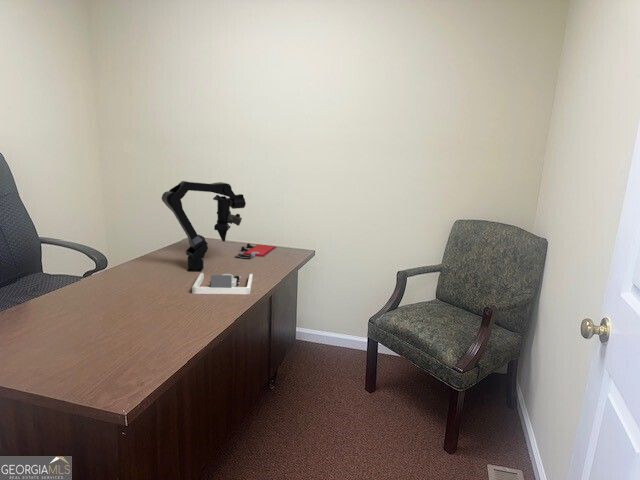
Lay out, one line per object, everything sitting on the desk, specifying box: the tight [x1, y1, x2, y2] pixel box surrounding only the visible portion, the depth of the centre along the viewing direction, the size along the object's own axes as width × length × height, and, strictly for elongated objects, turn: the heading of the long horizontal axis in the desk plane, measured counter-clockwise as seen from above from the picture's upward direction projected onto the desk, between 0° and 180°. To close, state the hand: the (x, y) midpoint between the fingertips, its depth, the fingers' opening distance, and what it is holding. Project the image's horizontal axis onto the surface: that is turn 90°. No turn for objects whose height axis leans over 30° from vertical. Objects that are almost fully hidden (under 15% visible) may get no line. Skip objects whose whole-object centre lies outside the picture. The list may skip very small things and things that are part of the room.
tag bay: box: [191, 272, 254, 295], centre depth 175 cm, size 22×19×8 cm
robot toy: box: [208, 273, 241, 287], centre depth 176 cm, size 12×4×15 cm
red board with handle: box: [234, 243, 277, 259], centre depth 232 cm, size 30×3×15 cm
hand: (223, 241), depth 203 cm, fingers closed
